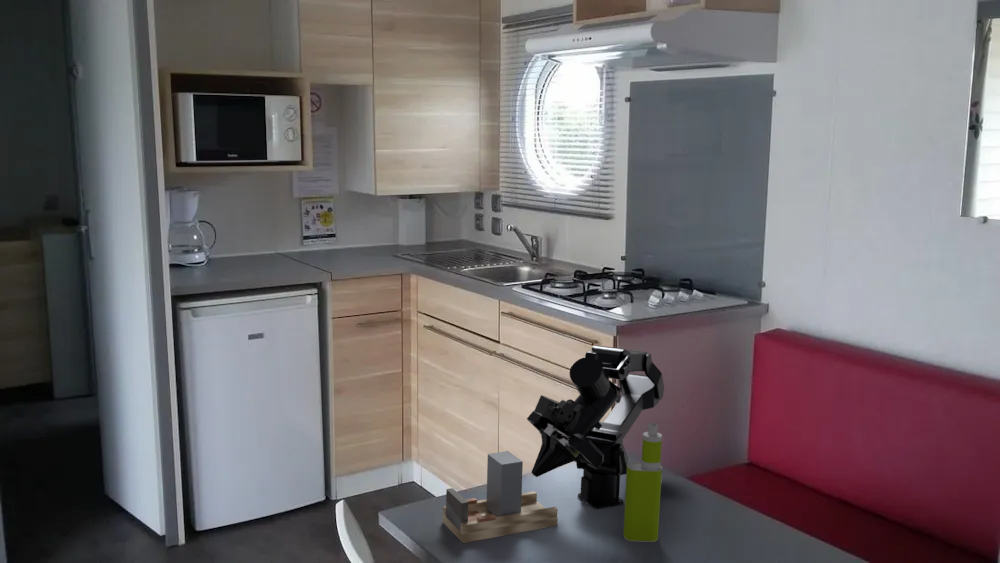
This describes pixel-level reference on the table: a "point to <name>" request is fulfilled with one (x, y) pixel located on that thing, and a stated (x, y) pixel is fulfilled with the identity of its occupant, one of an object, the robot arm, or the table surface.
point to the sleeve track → (494, 517)
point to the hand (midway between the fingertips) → (533, 475)
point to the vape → (644, 490)
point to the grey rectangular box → (504, 484)
